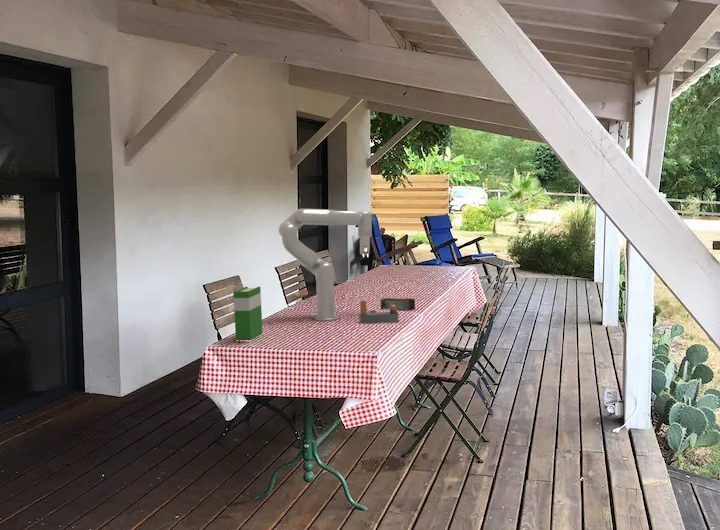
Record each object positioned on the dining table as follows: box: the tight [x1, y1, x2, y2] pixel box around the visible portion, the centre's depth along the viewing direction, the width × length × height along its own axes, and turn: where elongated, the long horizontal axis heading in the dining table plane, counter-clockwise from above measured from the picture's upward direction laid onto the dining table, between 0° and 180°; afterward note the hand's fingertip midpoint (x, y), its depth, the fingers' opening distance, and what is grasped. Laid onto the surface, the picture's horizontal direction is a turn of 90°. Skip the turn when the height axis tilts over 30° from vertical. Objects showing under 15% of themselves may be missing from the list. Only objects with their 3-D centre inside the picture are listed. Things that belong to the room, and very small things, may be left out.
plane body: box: [358, 300, 400, 324], centre depth 377 cm, size 20×7×12 cm, turn 95°
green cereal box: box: [233, 286, 264, 341], centre depth 344 cm, size 18×7×24 cm, turn 170°
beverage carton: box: [380, 297, 416, 311], centre depth 416 cm, size 8×19×7 cm, turn 60°
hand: (365, 264), depth 395 cm, fingers open, 9 cm apart
